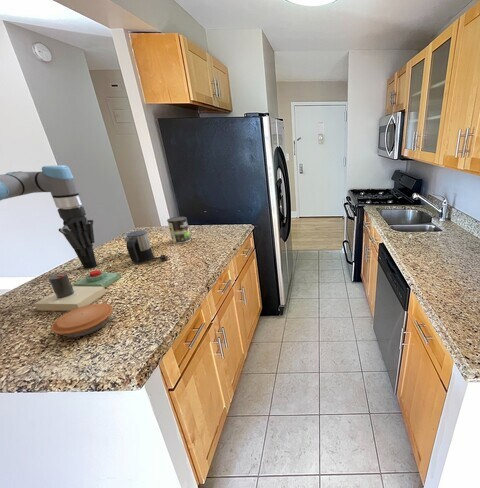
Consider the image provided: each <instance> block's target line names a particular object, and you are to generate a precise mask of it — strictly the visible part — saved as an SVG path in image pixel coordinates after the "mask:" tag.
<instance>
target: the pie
mask: <svg viewBox="0 0 480 488" xmlns="http://www.w3.org/2000/svg"><path fill="white" fill-rule="evenodd" d="M113 311H114V307H113V306H112V304H109V303H91V304H89V305H86V306H83V307H79V308H77V309H74V310H72V311H67V312H66V313H65V314H63V315H61V316H60V317H59V318H57V319H56V320H55V321H54V322H53V323H52V325H51V327H50V330H51V332H53V333H54V334H57V335H61V336H64V337H66V338H80V337H84V336H87V335H91V334H92V333H94V332H97V331H98V330H100V329H101V328H103V327H104V326H105V325H106V324H107V323H108V321H109V319H110V317H111V315H112V314H113Z"/></svg>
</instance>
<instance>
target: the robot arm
mask: <svg viewBox="0 0 480 488" xmlns="http://www.w3.org/2000/svg"><path fill="white" fill-rule="evenodd" d="M35 193H50V195H51V197H52V200H53V203H54V205H55V207H56V208H57V213H58V217H59V218H60V219H62V224H63V226H62V227H60V228H58V232H59V233H61V234H62V235H63V236H64V238H65V240H66V241H67V242H68V243H69V245H70V246H71V248H72V249H73V250H74V249H79V250H80V253H81V255H82V256H83V257H84V260H85V262H91V263H92V262H94V261H95V260H94V257H93V254H92V253H93V251H94V250H93V251H92V248H91V246H92V247H93V246H94V244H95V235H94V220H93V219H88V218H87V216H86V214H87V213H86V210H85V208H84V206H83V202H82V199H81V195H80V194H79V191H78V188H77V185H76V182H75V177H74V175H73V173H72V171H71V169H70V167H69V166H67V165H65V164H64V165H58V164H57V165H43V166H42V167H41V171H19V170H18V171H9V172H6V173H5V174H0V201H3V200H6V199H11V198H15V197H20V196H25V195H29V194H35Z"/></svg>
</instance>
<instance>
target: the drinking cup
mask: <svg viewBox="0 0 480 488" xmlns="http://www.w3.org/2000/svg"><path fill="white" fill-rule="evenodd" d="M91 248H92V251H93V253H92V254H93V257H94V260H95V261H94V262H92V263H91V262H85V260H84V257H83V256H82V255H81V253H80V250H79V249H73V251H74V252H75V254H76V256H77V258H78V260H79V262H80V263H81V265H82V267H83V269H85V270H90V269H94V268H96V267H97V266H98V264H97V259H96V256H95V251H94V248H93V246H91Z"/></svg>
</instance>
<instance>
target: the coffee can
mask: <svg viewBox="0 0 480 488" xmlns="http://www.w3.org/2000/svg"><path fill="white" fill-rule="evenodd" d="M166 221H167V225H168V230H169V233H170V238H171V241H172V243H173V244H176V245H177V244H178V245H179V244H185V243H188V242H190V241H191V240H192V239H191V234H190V229H189V224H188V220H187V217H186V216H173V217H170V218H167V220H166Z"/></svg>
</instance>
